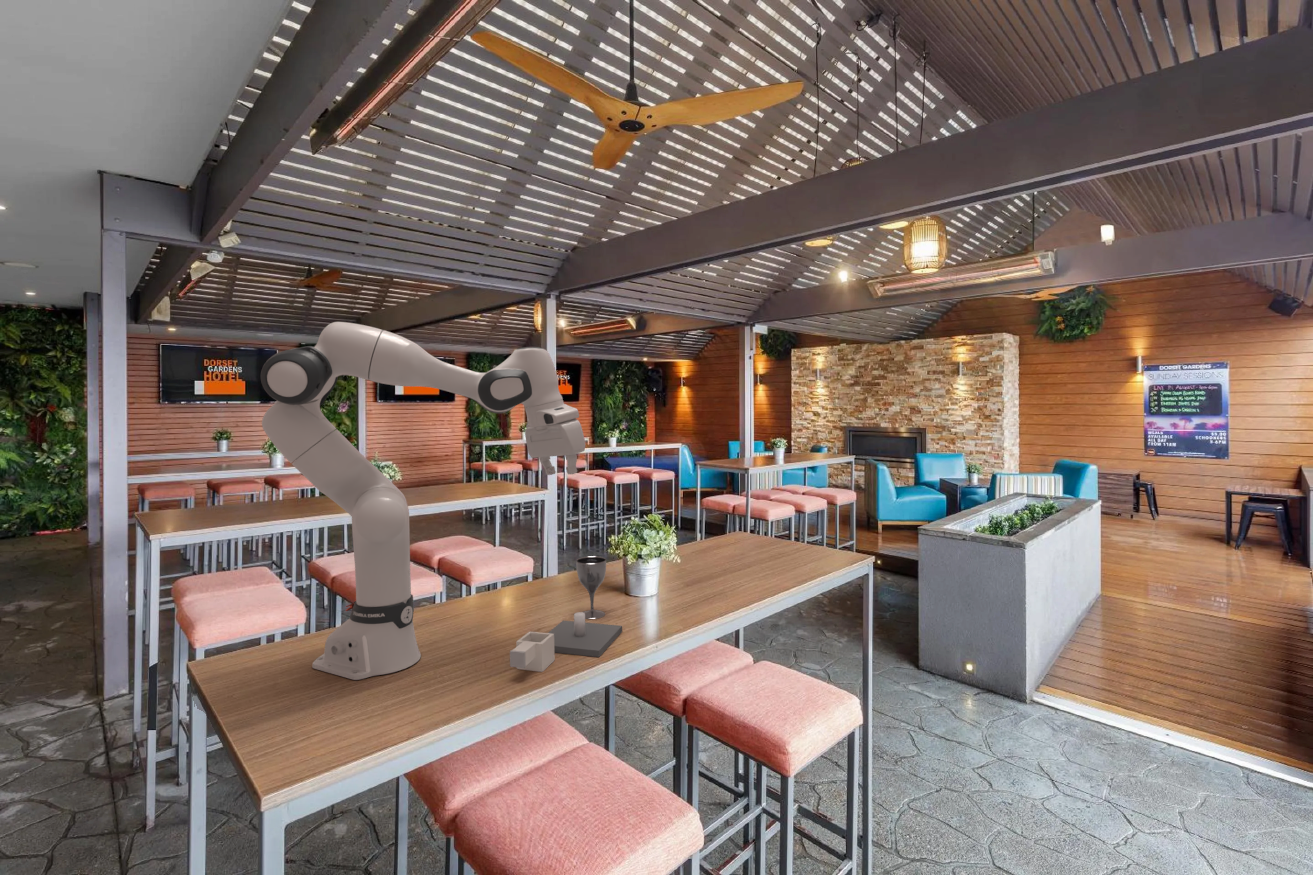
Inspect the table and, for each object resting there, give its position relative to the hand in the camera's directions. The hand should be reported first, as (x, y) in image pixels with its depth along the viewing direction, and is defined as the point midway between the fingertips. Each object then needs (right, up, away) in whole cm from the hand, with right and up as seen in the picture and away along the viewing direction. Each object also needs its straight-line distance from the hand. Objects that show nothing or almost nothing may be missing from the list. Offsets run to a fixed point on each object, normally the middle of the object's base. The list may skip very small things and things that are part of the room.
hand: (561, 474), depth 140 cm
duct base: (+4, -40, +5) cm, 41 cm away
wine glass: (+5, -40, +24) cm, 46 cm away
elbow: (-5, -41, -11) cm, 43 cm away
